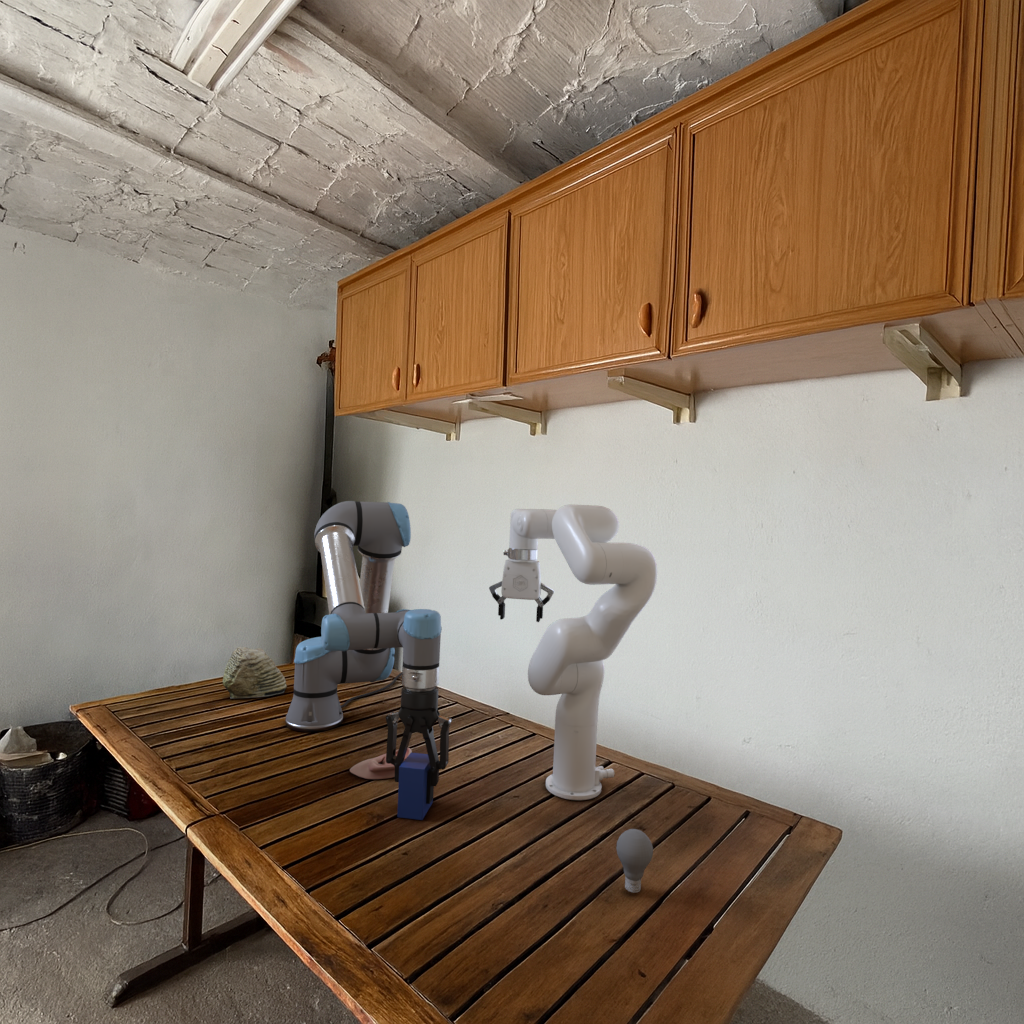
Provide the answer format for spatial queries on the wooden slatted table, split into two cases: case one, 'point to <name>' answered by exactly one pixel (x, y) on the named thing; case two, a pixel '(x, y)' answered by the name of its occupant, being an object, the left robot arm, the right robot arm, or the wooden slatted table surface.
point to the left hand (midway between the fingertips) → (415, 798)
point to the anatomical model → (376, 767)
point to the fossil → (252, 674)
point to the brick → (413, 787)
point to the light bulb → (634, 857)
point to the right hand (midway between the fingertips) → (520, 619)
